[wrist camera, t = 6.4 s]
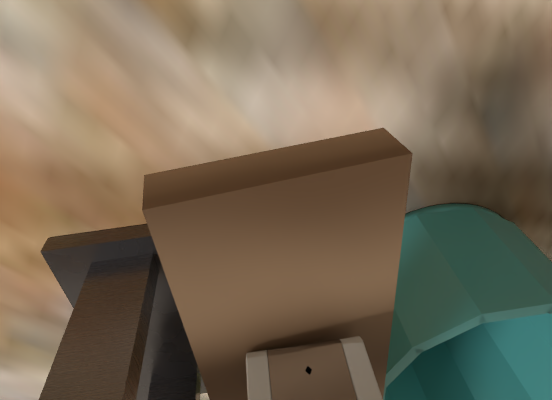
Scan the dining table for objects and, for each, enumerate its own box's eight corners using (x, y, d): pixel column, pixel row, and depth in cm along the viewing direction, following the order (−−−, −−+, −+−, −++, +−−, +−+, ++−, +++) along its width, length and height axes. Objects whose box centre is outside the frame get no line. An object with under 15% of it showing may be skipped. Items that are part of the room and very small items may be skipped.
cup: (335, 219, 21) (378, 330, 15) (540, 190, 21) (656, 287, 16) (336, 346, 28) (366, 458, 22) (494, 322, 28) (564, 425, 22)
